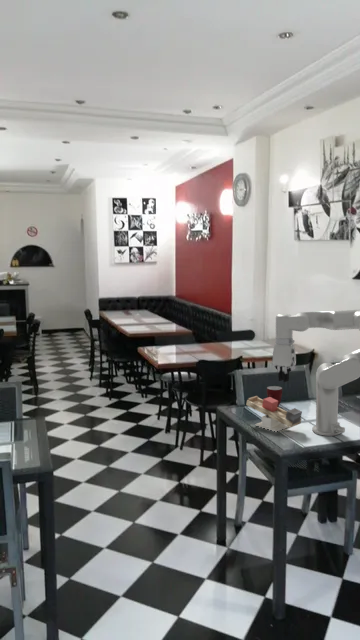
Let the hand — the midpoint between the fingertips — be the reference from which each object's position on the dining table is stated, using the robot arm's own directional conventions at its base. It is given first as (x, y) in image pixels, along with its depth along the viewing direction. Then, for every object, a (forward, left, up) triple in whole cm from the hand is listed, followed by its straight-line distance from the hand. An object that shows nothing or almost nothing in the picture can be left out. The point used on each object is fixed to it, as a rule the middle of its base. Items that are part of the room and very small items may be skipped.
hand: (283, 380), depth 235 cm
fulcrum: (+6, 0, -23) cm, 24 cm away
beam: (+6, 0, -17) cm, 18 cm away
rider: (+8, 0, -15) cm, 17 cm away
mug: (+24, -26, -23) cm, 42 cm away
